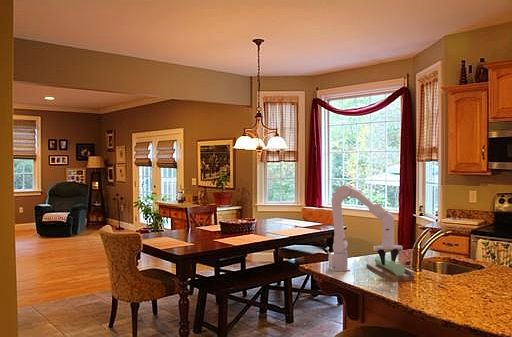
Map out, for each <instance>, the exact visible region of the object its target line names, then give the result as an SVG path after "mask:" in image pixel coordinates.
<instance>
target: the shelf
mask: <svg viewBox="0 0 512 337" xmlns="http://www.w3.org/2000/svg"><path fill="white" fill-rule="evenodd" d="M404 267H405V266H404ZM366 268H367V269H368V270H370V271H371V272H373V273H375V274H377V275H379V276H381V277H382V278H384V279H385V280H388V281H389V282H398V281H399V282H400V281H401V282H403V281H404V282H405V281H406V282H407V281H415V271H414V270H412V269H410V268H407V267H405V272H404V273H403V275H402V276H397V275H395V274H394V273H393V272H391V271H389V270H387V269H385V268H383V267H381V266H379V265H377V264H376V263H375V262H374V263H366Z"/></svg>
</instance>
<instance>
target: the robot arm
mask: <svg viewBox="0 0 512 337" xmlns="http://www.w3.org/2000/svg"><path fill="white" fill-rule="evenodd" d="M348 197H349V199H356V200H357V201H359V202H360V203H362V204H363V205H364V206H366V207H367V208H368V212H369V213H371V214H372V215H373V216H374V217H375V218H376V219H377V220H380V221H381V224H382V227H381V245H375V246H373V251H375V252H376V253H378V256H380V259H381V263H382V265H385V258H386V253H387V252H386V251H389V252H390V260H391V261H394V262H396V259H397V257H398V255H399V254H400V251H402V250H403V248H404V247H403V245H399V244H397V245H396V244H395V228H394V226H395V224H394V221H395V216H394V215H393V214H392V212H390V211H389V210H388V209H385V208H384V207H383V206H381V203H377V202H372V201H371V200H370V199H368V197H367V196H365V195H364V194H363V193H361V191H359V190H358V189H357V188H355V187H353V186H352V185H351V184H343V185H339V187H337V188H336V190H335V192H334V194H333V196H332V198H331V211H332V220H333V221H332V223H333V231H334V232H333V233H334V235H333V244H332V250H333V251H332V252H329V253H328V267H327V268H328V269H329V270H330V271H332V272H349V271H351V269H350V268H349V266H348V265H349V264H348V253H349V252H348V250H347V249H348V246H349V242H348V240H347V239H346V235H345V226H344V217H343V208H342V203H343V202H344V201H345V200H346V199H347V198H348Z"/></svg>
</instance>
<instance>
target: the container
mask: <svg viewBox="0 0 512 337" xmlns="http://www.w3.org/2000/svg"><path fill="white" fill-rule="evenodd" d="M374 263H376V264H377V265H379V266H381V267H383V268H385V269H387V270H389V271H391V272H393V273H394V274H395V275H397V276H402V275H403V273H404V272H405V266H404V265H403V264H402V263H397V262H396V261H395V262H394V261H391V259H389V258H386V257H385V265H382V263H381V259H380V256H379V255H376V256H375V258H374Z"/></svg>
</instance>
